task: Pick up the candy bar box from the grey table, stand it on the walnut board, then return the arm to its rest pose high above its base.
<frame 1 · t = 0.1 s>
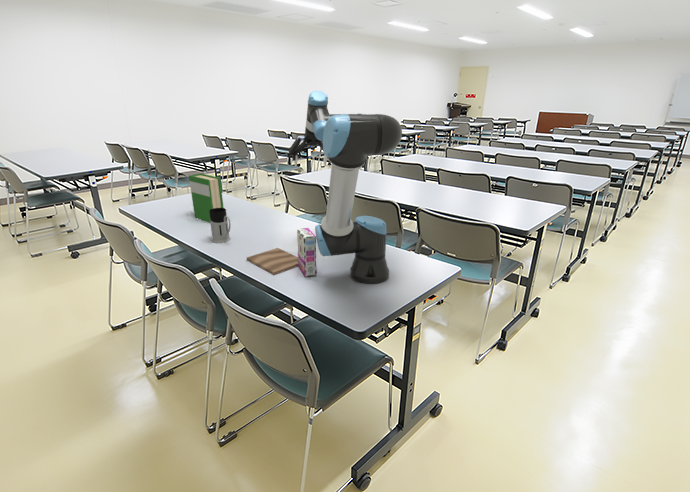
hand: (310, 163, 178), 36 cm above the table, tool tilted 35°, fingers open, 13 cm apart
coffee can: (210, 205, 243), on the table
hardback book: (209, 219, 217), on the table
walnut board: (276, 261, 163), on the table
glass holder: (224, 241, 186), on the table
candy bar box: (307, 271, 156), on the table
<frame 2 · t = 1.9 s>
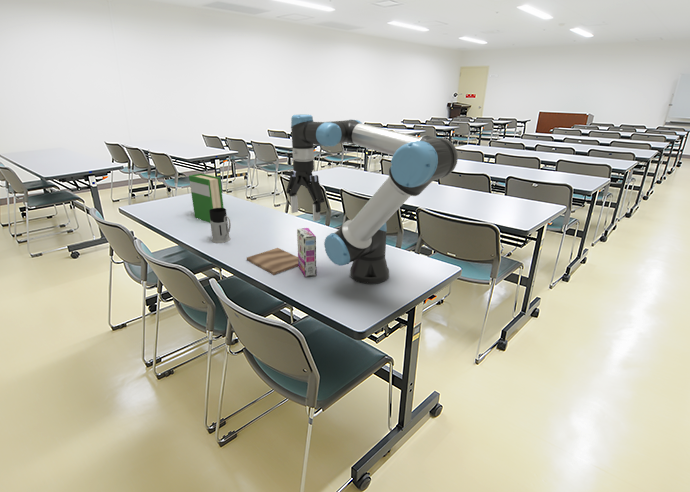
hand: (305, 216, 147), 23 cm above the table, tool pointing down, fingers open, 13 cm apart
nothing on the table moved.
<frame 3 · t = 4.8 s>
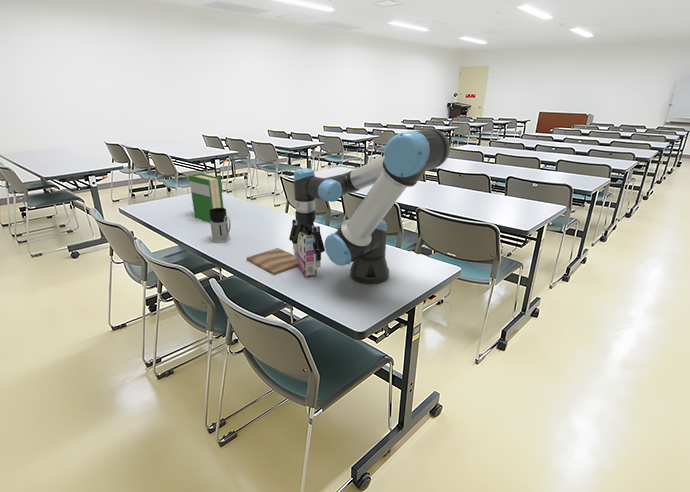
hand: (307, 262, 154), 3 cm above the table, tool pointing down, fingers closed on candy bar box, 12 cm apart
candy bar box: (307, 271, 156), on the table, touching gripper
everything else where it was.
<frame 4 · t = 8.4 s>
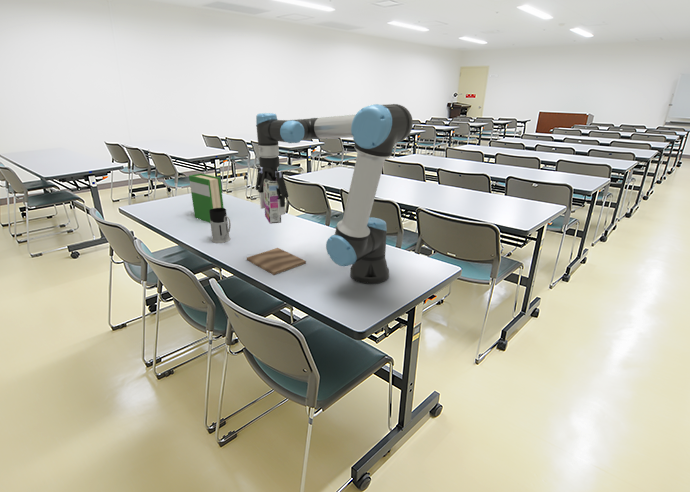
hand: (272, 211, 155), 22 cm above the table, tool pointing down, fingers closed on candy bar box, 12 cm apart
candy bar box: (273, 219, 157), point 19 cm above the table, touching gripper
everything else where it was.
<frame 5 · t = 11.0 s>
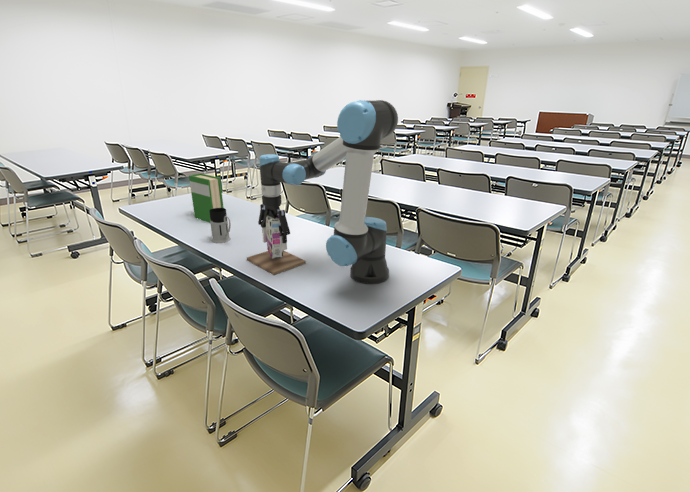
hand: (274, 245, 161), 7 cm above the table, tool pointing down, fingers closed on candy bar box, 12 cm apart
candy bar box: (275, 253, 162), point 4 cm above the table, touching gripper
everything else where it was.
when the fingers open (6 cm above the table, at t = 12.4 s): candy bar box drops 1 cm, resting on walnut board.
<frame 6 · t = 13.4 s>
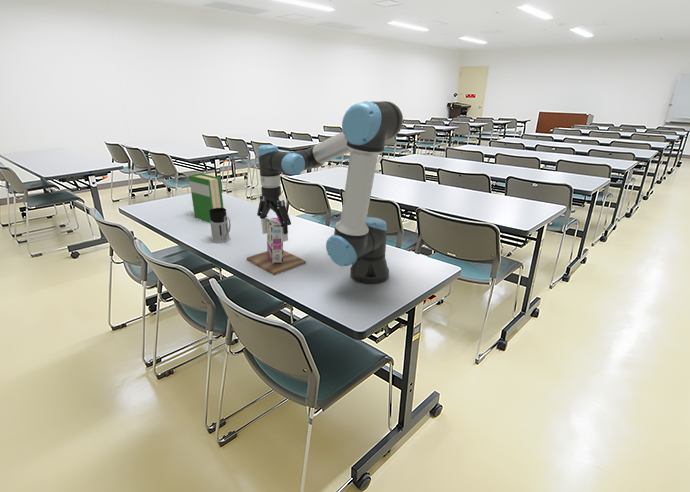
hand: (274, 237, 159), 11 cm above the table, tool pointing down, fingers open, 13 cm apart
candy bar box: (275, 258, 163), point 1 cm above the table, touching walnut board
everything else where it was.
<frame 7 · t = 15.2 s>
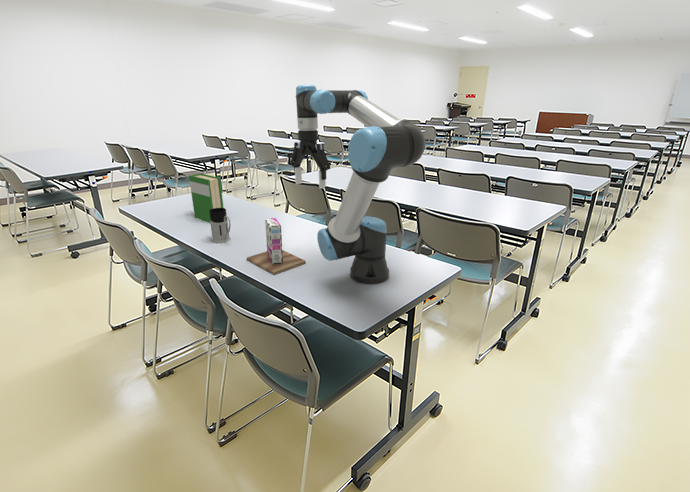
hand: (310, 185, 153), 32 cm above the table, tool pointing down, fingers open, 13 cm apart
nothing on the table moved.
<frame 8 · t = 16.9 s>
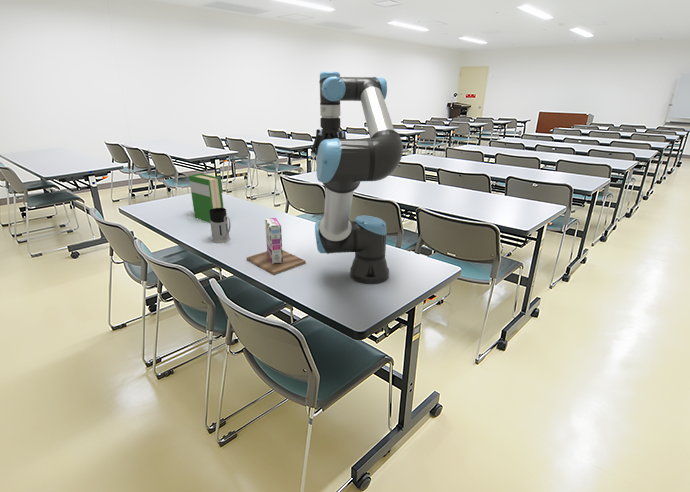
hand: (330, 173, 153), 37 cm above the table, tool pointing down, fingers open, 13 cm apart
nothing on the table moved.
at the end: candy bar box inside the target area on the walnut board (0.4 cm from its centre), point 1.0 cm above the walnut board's base; candy bar box tilted 0°; the gripper is holding nothing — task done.
